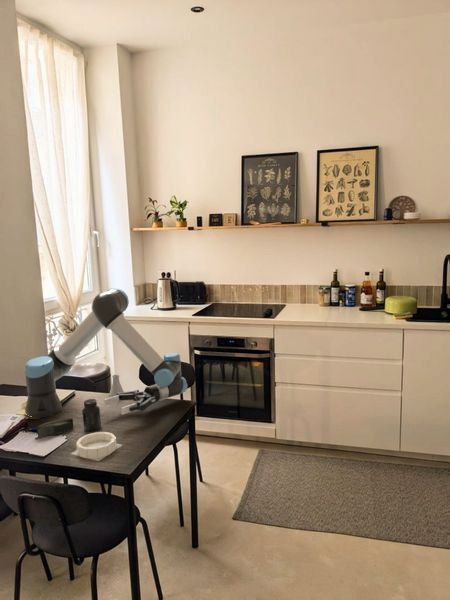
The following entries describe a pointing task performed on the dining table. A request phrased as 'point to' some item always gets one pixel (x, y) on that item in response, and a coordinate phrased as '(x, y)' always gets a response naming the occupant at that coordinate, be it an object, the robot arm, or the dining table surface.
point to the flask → (115, 386)
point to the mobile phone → (54, 427)
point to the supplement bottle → (91, 416)
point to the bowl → (96, 445)
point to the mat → (100, 457)
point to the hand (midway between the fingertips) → (113, 406)
